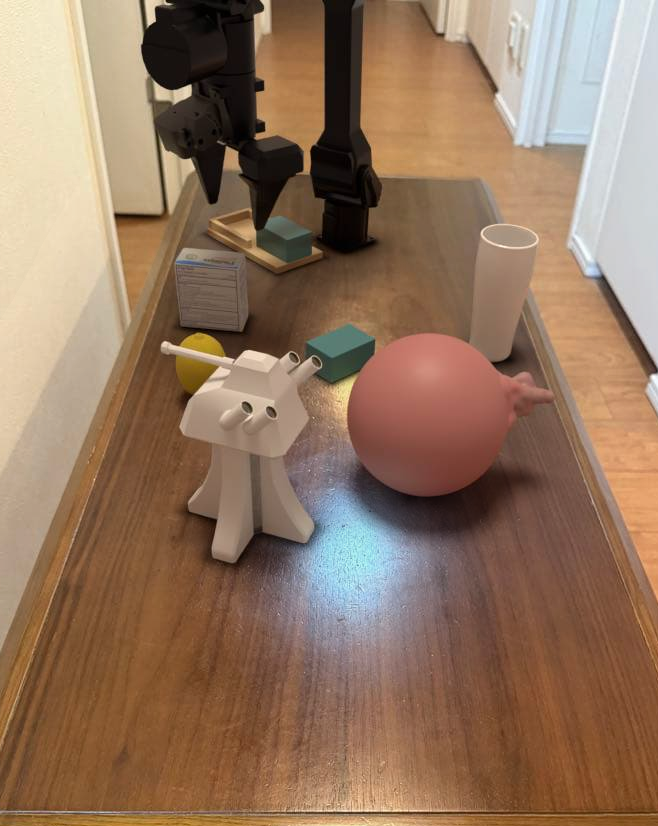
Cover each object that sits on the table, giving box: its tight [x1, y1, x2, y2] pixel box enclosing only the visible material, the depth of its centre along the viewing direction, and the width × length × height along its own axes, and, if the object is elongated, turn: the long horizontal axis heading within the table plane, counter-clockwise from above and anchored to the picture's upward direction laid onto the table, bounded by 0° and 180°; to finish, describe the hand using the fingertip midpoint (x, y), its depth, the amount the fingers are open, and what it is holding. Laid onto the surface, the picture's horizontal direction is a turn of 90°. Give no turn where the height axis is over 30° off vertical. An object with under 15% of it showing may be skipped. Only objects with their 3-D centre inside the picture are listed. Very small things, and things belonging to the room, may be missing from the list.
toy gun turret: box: [160, 340, 322, 564], centre depth 73 cm, size 12×13×18 cm
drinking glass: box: [468, 223, 540, 363], centre depth 99 cm, size 7×7×15 cm
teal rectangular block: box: [305, 323, 377, 384], centre depth 99 cm, size 7×5×3 cm, turn 134°
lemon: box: [175, 332, 227, 396], centre depth 91 cm, size 6×6×8 cm
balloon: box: [346, 332, 556, 497], centre depth 80 cm, size 15×20×15 cm
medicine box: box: [173, 247, 250, 333], centre depth 103 cm, size 8×4×9 cm, turn 84°
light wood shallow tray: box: [206, 206, 324, 275], centre depth 121 cm, size 16×9×4 cm, turn 44°
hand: (235, 216), depth 98 cm, fingers open, 9 cm apart
